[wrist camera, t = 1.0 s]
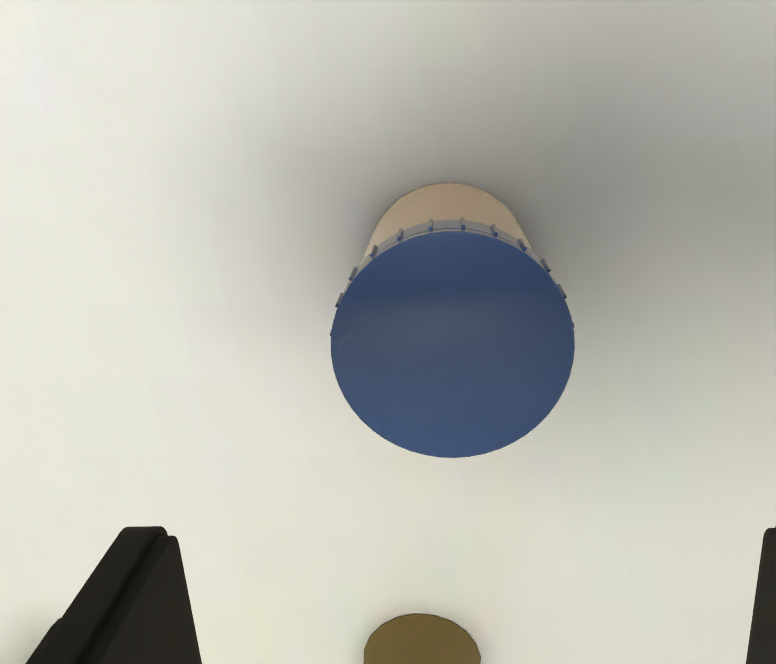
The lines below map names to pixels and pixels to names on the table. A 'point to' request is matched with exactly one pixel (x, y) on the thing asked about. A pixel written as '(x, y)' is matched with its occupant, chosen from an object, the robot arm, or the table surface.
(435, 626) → the olive game pawn
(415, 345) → the jar lid
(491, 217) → the jam jar
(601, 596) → the table surface
